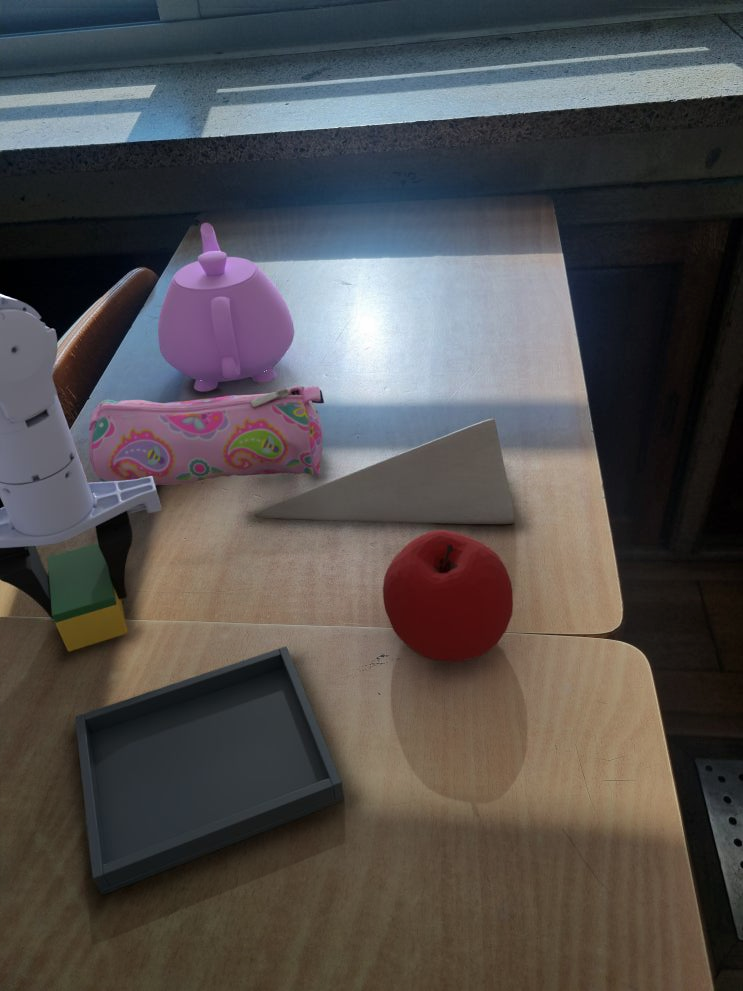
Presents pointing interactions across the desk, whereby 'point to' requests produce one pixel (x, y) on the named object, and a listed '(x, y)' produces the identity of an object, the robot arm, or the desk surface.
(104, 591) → the sponge
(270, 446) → the pencil case
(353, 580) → the desk surface
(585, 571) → the desk surface
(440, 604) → the apple
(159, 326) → the teapot
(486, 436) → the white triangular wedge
